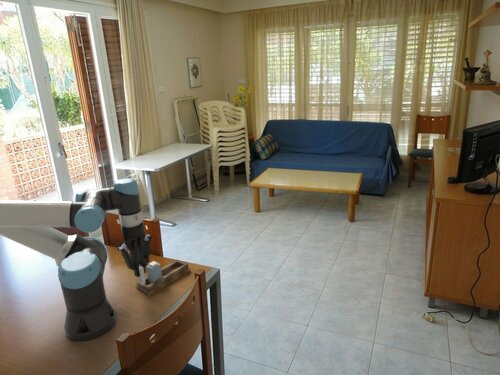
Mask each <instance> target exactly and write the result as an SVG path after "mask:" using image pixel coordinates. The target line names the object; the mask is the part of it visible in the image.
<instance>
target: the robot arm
mask: <svg viewBox="0 0 500 375" xmlns="http://www.w3.org/2000/svg"><path fill="white" fill-rule="evenodd" d="M74 200H75V201H61V200H59V201H56V200H54V201H53V200H15V199H14V200H11V199H10V200H9V199H8V200H7V199H6V200H4V199H0V236H2V237H4V238H7V239H8V240H11V241H13V242H15V243H18V244H20V245H22V246H25V247H26V248H29V249H31V250H33V251H36V252H37V253H41V254H42V255H45V256H47V257H49V258H51V259H54V260H55V261H54V262H55V264H56V266H57V267H58V268H57V273H58V275H57V277H58V280H59V283H60V287H61V291H62V295H63V298H64V300H63V301H64V303H65V308H66V314H65V320H64V326H63V327H64V331H65V336H66V337H67V338H68V339H70V340H72V341H77V342H84V341H89V340H93V339H96V338H98V337H101V336H103V335H104V334H106V333H107V332H108V331H110V330H111V329H112V328H113V327H114V325H115V323H116V321H117V316H116V310H115V309H114V307H113V306H112V305H111V303H110V301H109V299H107V294H106V290H105V283H104V272H105V269H106V264H107V260H108V250H107V247H106V245H105V244H104V242H103V241H102V240H100V238H97V237H94V236H81V235H79V234H78V233H76V234H73V235H68V234H66V233H64V232H62V231H60V230H58V229H56V228H76V229H78V230H79V231H81V232H84V233H87V234H89V233H93V232H94V233H95V232H97V231H98V230H99V229H100V228H101V227H102V225H103V223H104V221H105V218H106V213H107V212H109V211H115V210H117V212H118V219H119V224H120V230H121V234H122V245H121V246H118V247H117V251H118V252H120V254H121V256H122V257H123V261H124V262H125V265H126V267H127V268H128V269H129V270H132V271H133V272H134V276H135V277H136V279H137V282H138V283H140V284H142V285H143V284H145V283H146V281H145V278H146V276H145V275H146V273H147V269H146V266H148V264H146V263H147V262H148V263H150V254H151V252H150V250H151V241H152V239H153V236H152V235H150V234H146V232H145V230H146V229H145V223H144V218H143V212H142V205H141V196H140V191H139V186H138V182H137V180H135V178H132V177H131V178H129V177H127V178H121V179H117V180H115V181H114V182H113V185H112V187H105V188H98V189H97V188H95V189H86V190H83V191H78V192H77V193H75V198H74ZM128 250H129V251H130V255H131V258H130V256H129V254H128Z"/></svg>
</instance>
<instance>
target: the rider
mask: <svg viewBox="0 0 500 375" xmlns="http://www.w3.org/2000/svg"><path fill="white" fill-rule="evenodd" d="M161 269H162V266H161V263H159V262H157V261H154V260H153V261H151V262H148V264H147V266H146V267H145V270H146V273H147V274H146V275H147V276H148V282H149V283H150V284H151V283H153V282H155V281H157V280H158V279H160V278H162V271H161ZM147 276H146V277H147Z"/></svg>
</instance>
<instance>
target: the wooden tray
mask: <svg viewBox="0 0 500 375" xmlns="http://www.w3.org/2000/svg"><path fill="white" fill-rule="evenodd" d="M161 271H162V278H160V279H158V280H157V281H155V282H153V283H151V284H150V283H149V282H148V276H145V281H146V283H145V284H143V285H142V284H140V283H138V281H137V282H136V286H135V288H136V289H137V290H138V291H141V292H142V293H145V294H147V295H149V296H151V295H154V294H155V293H156V292H158V291H160V290H161V289H163V288H165V287H166V286H168V285H170V284H171V283H173V282H174V281H176V280H178V279H179V278H181V277H183V276H184V275H186V274H188V273H189V272H190V271H191V268H189V264H188V263H187V262H184V261H181V260H179V259H176V260H174V261H173V262H171V263H169V264H167V265H165V266H163V267H161Z"/></svg>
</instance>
